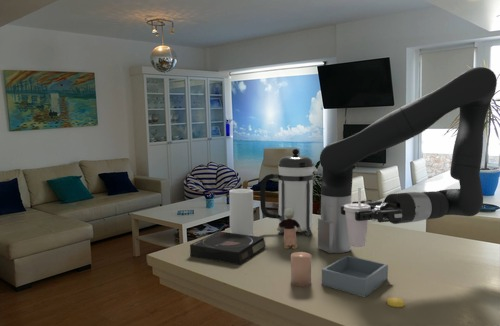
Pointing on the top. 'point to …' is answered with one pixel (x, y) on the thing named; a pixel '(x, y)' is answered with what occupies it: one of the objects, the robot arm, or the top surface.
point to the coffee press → (293, 190)
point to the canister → (301, 269)
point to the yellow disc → (395, 302)
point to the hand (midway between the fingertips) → (348, 213)
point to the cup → (241, 211)
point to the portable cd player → (227, 247)
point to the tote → (355, 275)
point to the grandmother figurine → (289, 229)
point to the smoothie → (356, 222)
